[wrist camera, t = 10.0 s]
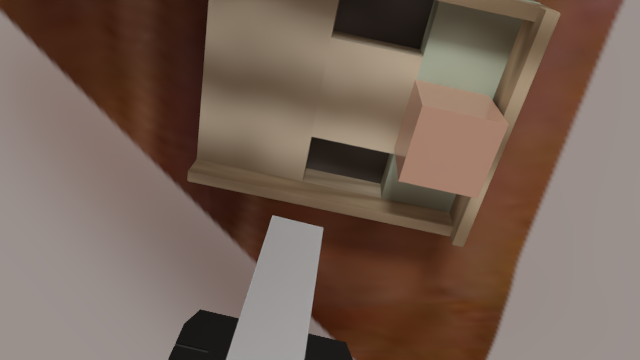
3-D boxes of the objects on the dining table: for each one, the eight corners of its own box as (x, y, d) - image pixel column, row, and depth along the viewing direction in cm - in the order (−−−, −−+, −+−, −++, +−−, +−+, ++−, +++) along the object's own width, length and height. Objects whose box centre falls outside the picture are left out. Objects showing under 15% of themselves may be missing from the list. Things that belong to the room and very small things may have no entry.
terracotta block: (415, 79, 32) (422, 105, 27) (489, 95, 32) (508, 124, 27) (394, 147, 34) (398, 181, 30) (463, 162, 34) (477, 198, 30)
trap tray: (224, -69, 31) (197, -66, 26) (530, -2, 31) (560, 13, 26) (205, 154, 38) (182, 187, 34) (451, 206, 39) (463, 246, 34)
